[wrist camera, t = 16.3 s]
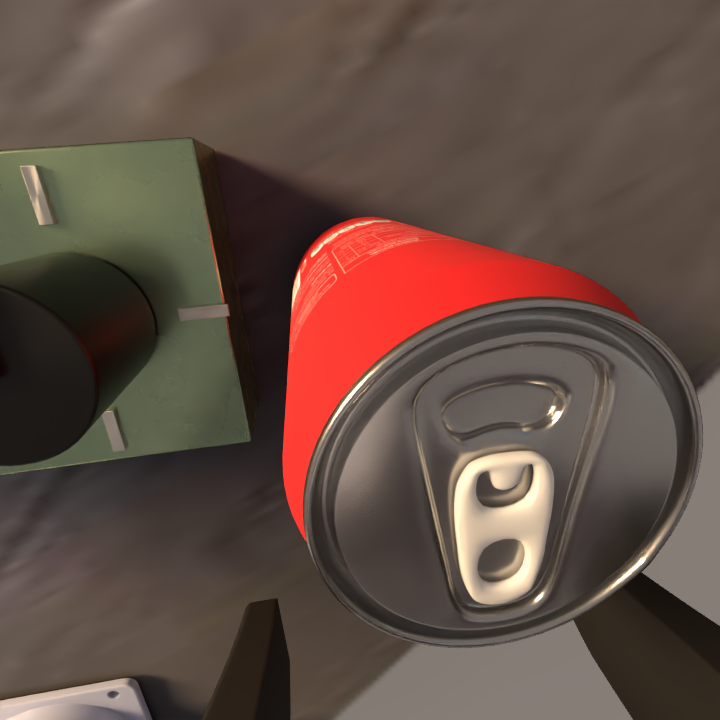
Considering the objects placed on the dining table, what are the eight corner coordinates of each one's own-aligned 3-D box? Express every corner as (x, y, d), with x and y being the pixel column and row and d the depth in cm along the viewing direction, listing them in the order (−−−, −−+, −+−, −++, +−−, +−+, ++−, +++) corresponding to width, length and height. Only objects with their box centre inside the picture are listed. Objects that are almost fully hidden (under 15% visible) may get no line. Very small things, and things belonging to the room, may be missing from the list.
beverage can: (431, 208, 15) (777, 246, 4) (434, 347, 17) (680, 624, 6) (283, 222, 15) (238, 305, 4) (302, 363, 17) (311, 696, 6)
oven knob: (169, 382, 13) (114, 463, 9) (28, 396, 13) (-93, 488, 9) (138, 246, 12) (55, 273, 8) (-23, 257, 11) (-196, 293, 7)
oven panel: (-15, 436, 16) (-83, 490, 13) (-132, 172, 13) (-259, 165, 10) (261, 401, 17) (254, 444, 14) (217, 147, 14) (195, 135, 11)
